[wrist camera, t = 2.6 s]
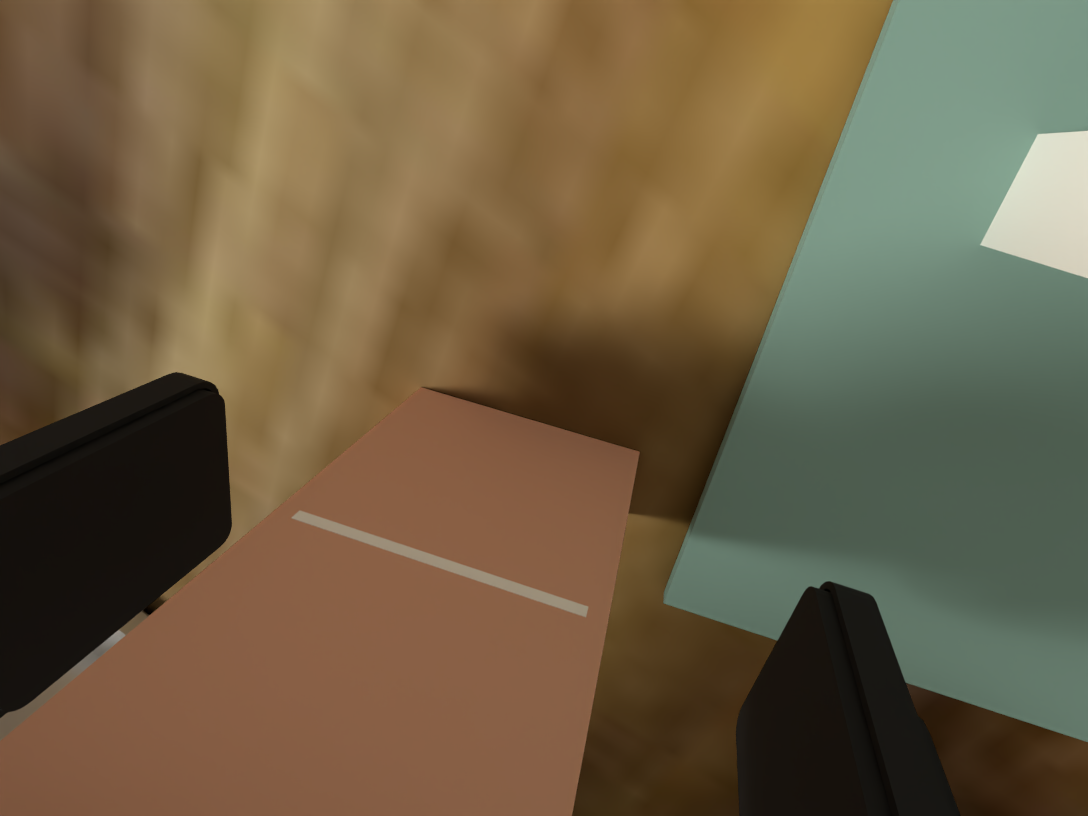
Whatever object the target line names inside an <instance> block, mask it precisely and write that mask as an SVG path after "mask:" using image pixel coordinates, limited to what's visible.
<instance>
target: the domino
mask: <svg viewBox="0 0 1088 816" xmlns="http://www.w3.org/2000/svg"><path fill="white" fill-rule="evenodd" d="M980 245H982V246H985V247H988V248H992V249H995V250H998V251H1001V252H1004V253H1008V254H1011V255H1014V256H1017V257H1021V258H1024V259H1027V260H1030V261H1034V262H1037V263H1040V264H1043V265H1046V266H1050V267H1053V268H1056V269H1059V270H1063V271H1066V272H1069V273H1072V274H1075V275H1079V276H1082V277H1085V278H1088V131H1078V132H1062V133H1047V134H1038V135H1037V137H1036V139H1035V141H1034V143H1033V144H1032V146H1031V148H1030V150H1029V152H1028V154H1027V156H1026V158H1025V160H1024V162H1023V164H1022V166H1021V167H1020V169H1019V171H1018V173H1017V175H1016V177H1015V179H1014V181H1013V183H1012V185H1011V187H1010V189H1009V190H1008V192H1007V194H1006V196H1005V198H1004V200H1003V202H1002V204H1001V206H1000V208H999V210H998V212H997V213H996V215H995V217H994V219H993V221H992V223H991V225H990V227H989V229H988V231H987V233H986V235H985V236H984V238H983V240H982V242H981V244H980Z"/></svg>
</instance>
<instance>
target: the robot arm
mask: <svg viewBox="0 0 1088 816" xmlns="http://www.w3.org/2000/svg"><path fill="white" fill-rule="evenodd" d="M231 527H232V518H231V501H230V484H229V467H228V450H227V433H226V416H225V403H224V399H223V398H222V396H220V395H219V392H218V389H217V388H216V386H215V385H214V384H212V383H211V382H208V381H205V380H202V379H199V378H196V377H193V376H189V375H186V374H183V373H177V372H175V373H171V374H168V375H166V376H163V377H161V378H159V379H156V380H154V381H152V382H149V383H147V384H144V385H142V386H140V387H137V388H135V389H133V390H130V391H128V392H126V393H123V394H121V395H118V396H116V397H114V398H111V399H109V400H107V401H104V402H102V403H100V404H97V405H95V406H92V407H90V408H88V409H85V410H83V411H81V412H78V413H76V414H74V415H71V416H69V417H67V418H64V419H62V420H59V421H57V422H55V423H52V424H50V425H48V426H45V427H43V428H41V429H38V430H36V431H33V432H31V433H29V434H26V435H24V436H22V437H19V438H17V439H15V440H12V441H10V442H7V443H5V444H3V445H0V741H1V740H2V739H3V738H4V737H5V736H7V735H8V734H9V733H10V732H11V731H13V730H14V729H15V728H16V727H17V726H19V725H20V724H21V723H22V722H23V721H25V720H26V719H27V718H28V717H29V716H30V715H32V714H33V713H34V712H35V711H36V710H38V709H39V708H40V707H41V706H42V705H44V704H45V703H46V702H47V701H48V700H49V699H51V698H52V697H53V696H54V695H55V694H57V693H58V692H59V691H60V690H61V689H63V688H64V687H65V686H66V685H67V684H69V683H70V682H71V681H72V680H73V679H74V678H76V677H77V676H78V675H79V674H80V673H82V672H83V671H84V670H85V669H86V668H88V667H89V666H90V665H91V664H92V663H94V662H95V661H96V660H97V659H98V658H99V657H101V656H102V655H103V654H104V653H105V652H107V651H108V650H109V649H110V648H111V647H113V646H114V645H115V644H116V643H117V642H118V641H120V640H121V639H122V638H123V637H124V636H126V635H127V634H128V633H129V632H130V631H132V630H133V629H134V628H135V627H136V626H138V625H139V624H140V623H141V622H142V621H143V620H145V619H146V618H147V617H148V616H149V615H148V614H147V613H145V612H144V611H143V610H144V609H145V608H146V607H147V606H149V605H150V604H151V603H152V602H153V601H155V600H156V599H157V598H158V597H159V596H161V595H162V594H163V593H164V592H166V591H167V590H168V589H169V588H170V587H172V586H173V585H174V584H175V583H177V582H178V581H179V580H180V579H181V578H183V577H184V576H185V575H186V574H188V573H189V572H190V571H191V570H192V569H194V568H195V567H196V566H197V565H199V564H200V563H201V562H202V561H203V560H205V559H206V558H207V557H208V556H209V555H211V554H212V553H213V552H214V551H216V550H217V549H218V548H219V547H220V546H221V545H222V544H223V543H224V542H225V541H226V539H227V538H228V536H229V534H230V531H231ZM736 746H737V769H738V792H739V815H740V816H960V813H959V811H958V808H957V805H956V803H955V800H954V797H953V795H952V792H951V789H950V786H949V784H948V781H947V778H946V776H945V773H944V770H943V768H942V765H941V762H940V760H939V757H938V754H937V752H936V749H935V746H934V744H933V741H932V738H931V736H930V733H929V731H928V729H927V727H926V725H925V723H924V721H923V720H922V719H921V718H920V717H918V716H917V713H916V710H915V707H914V705H913V702H912V699H911V696H910V694H909V691H908V688H907V685H906V683H905V680H904V677H903V674H902V672H901V669H900V666H899V663H898V660H897V658H896V655H895V652H894V649H893V647H892V644H891V641H890V638H889V636H888V633H887V630H886V627H885V625H884V622H883V619H882V616H881V614H880V611H879V608H878V605H877V603H876V601H875V599H874V597H873V596H872V595H870V594H868V593H865V592H862V591H859V590H856V589H853V588H850V587H847V586H843V585H840V584H837V583H834V582H831V581H826V582H824V583H823V584H822V585H821V586H820V588H815V587H812V586H810V587H808V588H807V589H806V590H805V591H804V593H803V594H802V596H801V598H800V600H799V602H798V604H797V606H796V607H795V609H794V611H793V613H792V615H791V617H790V618H789V620H788V622H787V624H786V626H785V628H784V630H783V631H782V633H781V635H780V637H779V639H778V641H777V643H776V644H775V646H774V648H773V650H772V652H771V654H770V655H769V657H768V659H767V661H766V663H765V665H764V667H763V668H762V670H761V672H760V674H759V676H758V678H757V680H756V681H755V683H754V685H753V687H752V689H751V691H750V692H749V694H748V696H747V698H746V700H745V702H744V704H743V705H742V708H741V710H740V713H739V716H738V720H737V727H736Z"/></svg>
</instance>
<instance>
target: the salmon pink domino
mask: <svg viewBox="0 0 1088 816" xmlns="http://www.w3.org/2000/svg"><path fill="white" fill-rule="evenodd" d="M639 454H640V452H639V451H635V450H632V449H628V448H625V447H622V446H618V445H615V444H612V443H608V442H605V441H601V440H598V439H595V438H591V437H588V436H584V435H581V434H578V433H574V432H571V431H568V430H564V429H561V428H557V427H554V426H551V425H547V424H544V423H540V422H537V421H534V420H530V419H527V418H524V417H520V416H517V415H513V414H510V413H507V412H503V411H500V410H496V409H493V408H490V407H486V406H483V405H480V404H476V403H473V402H469V401H466V400H463V399H459V398H456V397H452V396H449V395H446V394H442V393H439V392H436V391H432V390H429V389H425V388H422V387H421V388H419V389H418V390H417V391H416V392H415V393H414V394H412V395H411V396H410V397H409V398H408V399H406V400H405V401H404V402H403V403H402V404H400V405H399V406H398V407H397V408H396V409H394V410H393V411H392V412H391V413H390V414H389V415H387V416H386V417H385V418H384V419H383V420H381V421H380V422H379V423H378V424H377V425H375V426H374V427H373V428H372V429H371V430H370V431H368V432H367V433H366V434H365V435H364V436H362V437H361V438H360V439H359V440H358V441H356V442H355V443H354V444H353V445H352V446H350V447H349V448H348V449H347V450H346V451H345V452H343V453H342V454H341V455H340V456H339V457H337V458H336V459H335V460H334V461H333V462H331V463H330V464H329V465H328V466H327V467H325V468H324V469H323V470H322V471H321V472H320V473H318V474H317V475H316V476H315V477H314V478H312V479H311V480H310V481H309V482H308V483H306V484H305V485H304V486H303V487H302V488H301V489H299V490H298V491H297V492H296V493H295V494H293V495H292V496H291V497H290V498H289V499H287V500H286V501H285V502H284V503H283V504H281V505H280V506H279V507H278V508H277V509H276V510H274V511H273V512H272V513H271V514H270V515H268V516H267V517H266V518H265V519H264V520H262V521H261V522H260V523H259V524H258V525H256V526H255V527H254V528H253V529H252V530H251V531H249V532H248V533H247V534H246V535H245V536H243V537H242V538H241V539H240V540H239V541H237V542H236V543H235V544H234V545H233V546H232V547H230V548H229V549H228V550H227V551H226V552H224V553H223V554H222V555H221V556H220V557H218V558H217V559H216V560H215V561H214V562H212V563H211V564H210V565H209V566H208V567H207V568H205V569H204V570H203V571H202V572H201V573H199V574H198V575H197V576H196V577H195V578H193V579H192V580H191V581H190V582H189V583H187V584H186V585H185V586H184V587H183V588H182V589H180V590H179V591H178V592H177V593H176V594H174V595H173V596H172V597H171V598H170V599H168V600H167V601H166V602H165V603H164V604H163V605H161V606H160V607H159V608H158V609H157V610H155V611H154V612H153V613H152V614H151V615H149V616H148V617H147V618H146V619H145V620H143V621H142V622H141V623H140V624H139V625H138V626H136V627H135V628H134V629H133V630H132V631H130V632H129V633H128V634H127V635H126V636H124V637H123V638H122V639H121V640H120V641H118V642H117V643H116V644H115V645H114V646H113V647H111V648H110V649H109V650H108V651H107V652H105V653H104V654H103V655H102V656H101V657H99V658H98V659H97V660H96V661H95V662H94V663H92V664H91V665H90V666H89V667H88V668H86V669H85V670H84V671H83V672H82V673H80V674H79V675H78V676H77V677H76V678H74V679H73V680H72V681H71V682H70V683H69V684H67V685H66V686H65V687H64V688H63V689H61V690H60V691H59V692H58V693H57V694H55V695H54V696H53V697H52V698H51V699H49V700H48V701H47V702H46V703H45V704H44V705H42V706H41V707H40V708H39V709H38V710H36V711H35V712H34V713H33V714H32V715H30V716H29V717H28V718H27V719H26V720H25V721H23V722H22V723H21V724H20V725H19V726H17V727H16V728H15V729H14V730H13V731H11V732H10V733H9V734H8V735H7V736H5V737H4V738H3V739H2V740H1V741H0V816H572V813H573V808H574V802H575V797H576V791H577V786H578V781H579V775H580V770H581V765H582V759H583V754H584V749H585V743H586V738H587V733H588V727H589V722H590V716H591V711H592V706H593V700H594V695H595V690H596V684H597V679H598V674H599V668H600V663H601V657H602V652H603V647H604V641H605V636H606V631H607V625H608V620H609V615H610V609H611V604H612V599H613V593H614V588H615V582H616V577H617V572H618V566H619V561H620V556H621V550H622V545H623V540H624V534H625V529H626V524H627V518H628V513H629V507H630V502H631V497H632V491H633V486H634V481H635V475H636V470H637V465H638V459H639Z"/></svg>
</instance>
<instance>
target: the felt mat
mask: <svg viewBox="0 0 1088 816" xmlns="http://www.w3.org/2000/svg"><path fill="white" fill-rule="evenodd" d="M1078 131H1088V0H893V2H892V5H891V7H890V10H889V13H888V15H887V18H886V20H885V23H884V25H883V28H882V31H881V33H880V36H879V38H878V41H877V44H876V46H875V49H874V51H873V54H872V56H871V59H870V62H869V64H868V67H867V69H866V72H865V75H864V77H863V80H862V82H861V85H860V87H859V90H858V93H857V95H856V98H855V100H854V103H853V105H852V108H851V111H850V113H849V116H848V118H847V121H846V124H845V126H844V129H843V131H842V134H841V136H840V139H839V142H838V144H837V147H836V149H835V152H834V155H833V157H832V160H831V162H830V165H829V167H828V170H827V173H826V175H825V178H824V180H823V183H822V186H821V188H820V191H819V193H818V196H817V198H816V201H815V204H814V206H813V209H812V211H811V214H810V216H809V219H808V222H807V224H806V227H805V229H804V232H803V235H802V237H801V240H800V242H799V245H798V247H797V250H796V253H795V255H794V258H793V260H792V263H791V266H790V268H789V271H788V273H787V276H786V278H785V281H784V284H783V286H782V289H781V291H780V294H779V296H778V299H777V302H776V304H775V307H774V309H773V312H772V315H771V317H770V320H769V322H768V325H767V327H766V330H765V333H764V335H763V338H762V340H761V343H760V346H759V348H758V351H757V353H756V356H755V358H754V361H753V364H752V366H751V369H750V371H749V374H748V377H747V379H746V382H745V384H744V387H743V389H742V392H741V395H740V397H739V400H738V402H737V405H736V407H735V410H734V413H733V415H732V418H731V420H730V423H729V426H728V428H727V431H726V433H725V436H724V438H723V441H722V444H721V446H720V449H719V451H718V454H717V457H716V459H715V462H714V464H713V467H712V469H711V472H710V475H709V477H708V480H707V482H706V485H705V488H704V490H703V493H702V495H701V498H700V500H699V503H698V506H697V508H696V511H695V513H694V516H693V518H692V521H691V524H690V526H689V529H688V531H687V534H686V537H685V539H684V542H683V544H682V547H681V549H680V552H679V555H678V557H677V560H676V562H675V565H674V568H673V570H672V573H671V575H670V578H669V580H668V583H667V586H666V588H665V591H664V602H663V603H664V604H667V605H670V606H673V607H676V608H679V609H682V610H685V611H688V612H692V613H695V614H698V615H701V616H704V617H707V618H710V619H713V620H716V621H719V622H722V623H725V624H728V625H731V626H734V627H737V628H740V629H743V630H747V631H750V632H753V633H756V634H759V635H762V636H765V637H768V638H771V639H774V640H777V641H778V639H779V637H780V635H781V633H782V631H783V630H784V628H785V626H786V624H787V622H788V620H789V618H790V617H791V615H792V613H793V611H794V609H795V607H796V606H797V604H798V602H799V600H800V598H801V596H802V594H803V593H804V591H805V590H806V589H807V588H808V587H810V586H812V587H815V588H820V586H821V585H822V584H823V583H824V582H826V581H831V582H834V583H837V584H840V585H843V586H847V587H850V588H853V589H856V590H859V591H862V592H865V593H868V594H870V595H872V596H873V597H874V599H875V601H876V603H877V605H878V608H879V611H880V614H881V616H882V619H883V622H884V625H885V627H886V630H887V633H888V636H889V638H890V641H891V644H892V647H893V649H894V652H895V655H896V658H897V660H898V663H899V666H900V669H901V672H902V674H903V677H904V680H905V683H909V684H912V685H915V686H918V687H921V688H924V689H927V690H930V691H933V692H936V693H939V694H942V695H945V696H948V697H951V698H954V699H957V700H960V701H964V702H967V703H970V704H973V705H976V706H979V707H982V708H985V709H988V710H991V711H994V712H997V713H1000V714H1003V715H1006V716H1009V717H1012V718H1015V719H1019V720H1022V721H1025V722H1028V723H1031V724H1034V725H1037V726H1040V727H1043V728H1046V729H1049V730H1052V731H1055V732H1058V733H1061V734H1064V735H1067V736H1070V737H1074V738H1077V739H1080V740H1083V741H1086V742H1088V278H1085V277H1082V276H1079V275H1075V274H1072V273H1069V272H1066V271H1063V270H1059V269H1056V268H1053V267H1050V266H1046V265H1043V264H1040V263H1037V262H1034V261H1030V260H1027V259H1024V258H1021V257H1017V256H1014V255H1011V254H1008V253H1004V252H1001V251H998V250H995V249H992V248H988V247H985V246H982V245H980V244H981V242H982V240H983V238H984V236H985V235H986V233H987V231H988V229H989V227H990V225H991V223H992V221H993V219H994V217H995V215H996V213H997V212H998V210H999V208H1000V206H1001V204H1002V202H1003V200H1004V198H1005V196H1006V194H1007V192H1008V190H1009V189H1010V187H1011V185H1012V183H1013V181H1014V179H1015V177H1016V175H1017V173H1018V171H1019V169H1020V167H1021V166H1022V164H1023V162H1024V160H1025V158H1026V156H1027V154H1028V152H1029V150H1030V148H1031V146H1032V144H1033V143H1034V141H1035V139H1036V137H1037V135H1038V134H1047V133H1062V132H1078Z"/></svg>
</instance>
